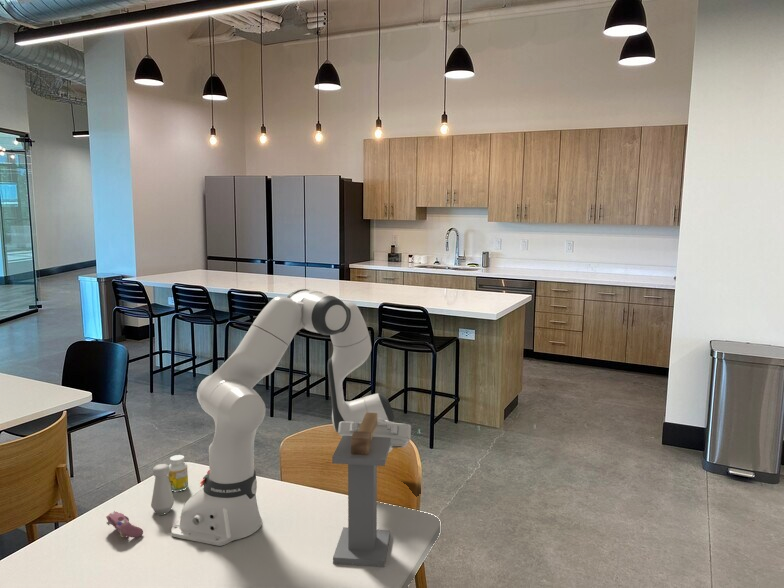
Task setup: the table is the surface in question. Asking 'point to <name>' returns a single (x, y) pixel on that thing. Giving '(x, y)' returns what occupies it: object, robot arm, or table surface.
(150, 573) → the table surface
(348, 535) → the charcoal stand
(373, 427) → the oak shaft
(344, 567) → the table surface
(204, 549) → the table surface
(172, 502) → the salt shaker
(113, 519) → the pink toy figure
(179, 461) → the supplement bottle
